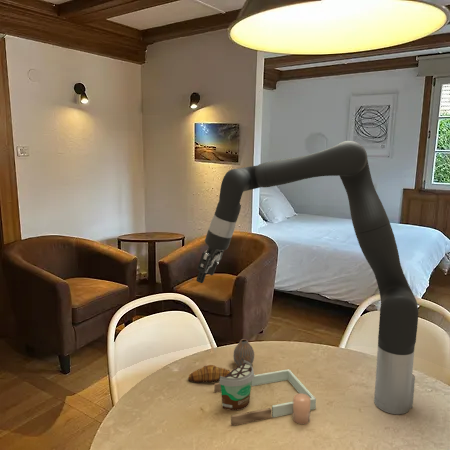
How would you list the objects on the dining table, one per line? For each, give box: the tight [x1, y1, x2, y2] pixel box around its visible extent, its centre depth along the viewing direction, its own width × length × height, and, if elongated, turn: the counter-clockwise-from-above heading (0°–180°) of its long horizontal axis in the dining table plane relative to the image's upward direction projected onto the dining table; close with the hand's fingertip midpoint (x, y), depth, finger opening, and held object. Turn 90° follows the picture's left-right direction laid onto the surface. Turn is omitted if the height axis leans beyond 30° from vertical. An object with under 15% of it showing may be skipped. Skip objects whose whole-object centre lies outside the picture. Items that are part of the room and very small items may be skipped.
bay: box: [251, 369, 317, 418], centre depth 121 cm, size 13×17×3 cm
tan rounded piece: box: [292, 393, 311, 425], centre depth 110 cm, size 4×4×6 cm
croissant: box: [187, 364, 231, 384], centre depth 130 cm, size 14×7×5 cm, turn 99°
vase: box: [232, 338, 255, 367], centre depth 138 cm, size 7×7×9 cm
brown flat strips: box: [213, 382, 272, 427], centre depth 117 cm, size 11×17×2 cm, turn 17°
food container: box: [218, 360, 255, 411], centre depth 117 cm, size 12×6×10 cm, turn 143°
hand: (204, 277), depth 131 cm, fingers open, 8 cm apart
